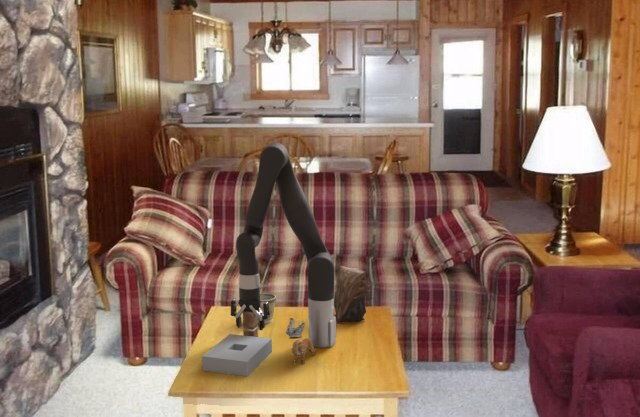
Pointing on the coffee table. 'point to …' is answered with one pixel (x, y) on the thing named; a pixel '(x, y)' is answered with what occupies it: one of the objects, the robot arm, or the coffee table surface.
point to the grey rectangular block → (237, 354)
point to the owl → (350, 295)
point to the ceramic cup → (271, 299)
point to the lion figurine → (302, 349)
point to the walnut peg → (250, 324)
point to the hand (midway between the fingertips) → (250, 328)
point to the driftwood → (294, 329)
